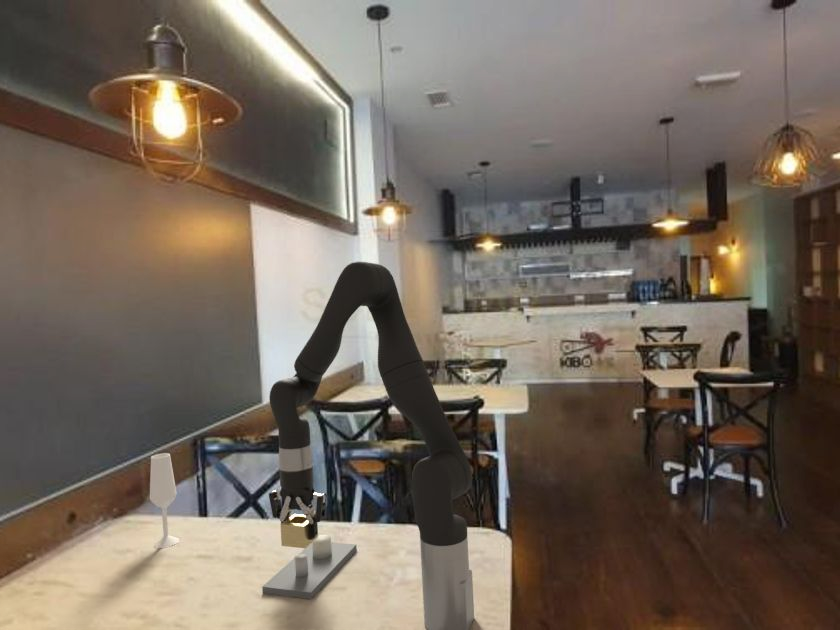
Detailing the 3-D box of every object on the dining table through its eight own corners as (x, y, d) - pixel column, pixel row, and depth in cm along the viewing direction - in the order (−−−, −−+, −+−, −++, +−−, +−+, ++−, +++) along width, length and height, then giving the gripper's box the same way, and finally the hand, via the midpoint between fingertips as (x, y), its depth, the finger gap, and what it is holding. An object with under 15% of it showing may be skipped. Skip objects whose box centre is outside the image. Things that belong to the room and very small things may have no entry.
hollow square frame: (318, 537, 134) (316, 515, 133) (305, 548, 128) (304, 526, 128) (295, 534, 135) (294, 513, 135) (281, 545, 130) (280, 524, 130)
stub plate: (356, 550, 146) (355, 528, 146) (311, 599, 123) (309, 574, 123) (314, 546, 150) (313, 525, 150) (262, 593, 127) (261, 568, 127)
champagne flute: (184, 537, 160) (178, 452, 159) (170, 548, 153) (164, 459, 152) (162, 537, 161) (156, 452, 160) (147, 547, 154) (141, 459, 153)
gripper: (259, 468, 130) (263, 541, 130) (316, 471, 125) (320, 547, 126) (277, 458, 137) (281, 527, 137) (331, 461, 132) (335, 533, 133)
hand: (299, 536), depth 132 cm, fingers closed on hollow square frame, 6 cm apart
